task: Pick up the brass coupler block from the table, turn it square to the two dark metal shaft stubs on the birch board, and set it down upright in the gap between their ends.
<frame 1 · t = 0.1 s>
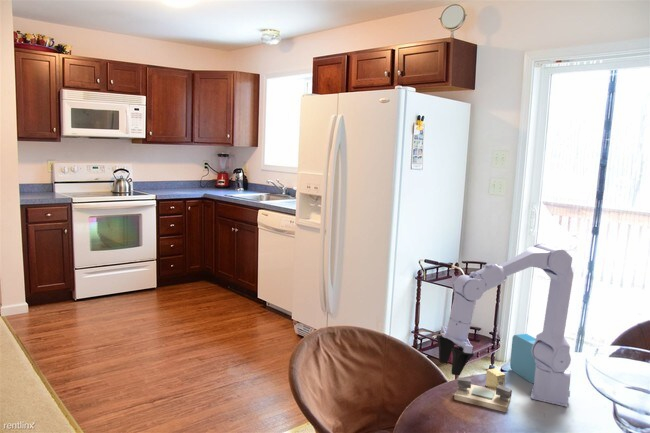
hand: (449, 368, 137), 11 cm above the table, tool pointing down, fingers open, 7 cm apart
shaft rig: (482, 398, 143), on the table
light blue flat block: (527, 376, 159), on the table
coupler: (494, 388, 150), on the table
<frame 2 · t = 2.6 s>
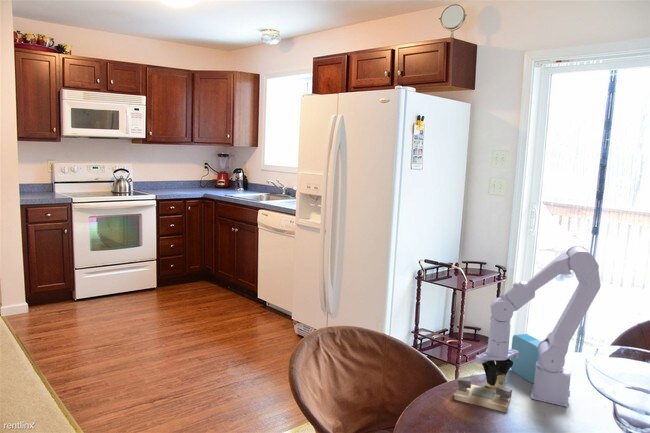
hand: (495, 383, 150), 1 cm above the table, tool pointing down, fingers closed on coupler, 3 cm apart
coupler: (494, 387, 150), on the table, touching gripper
everything else where it was.
when the fingers open (5 cm above the table, at t = 5.5 s): coupler stays where it is, resting on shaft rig.
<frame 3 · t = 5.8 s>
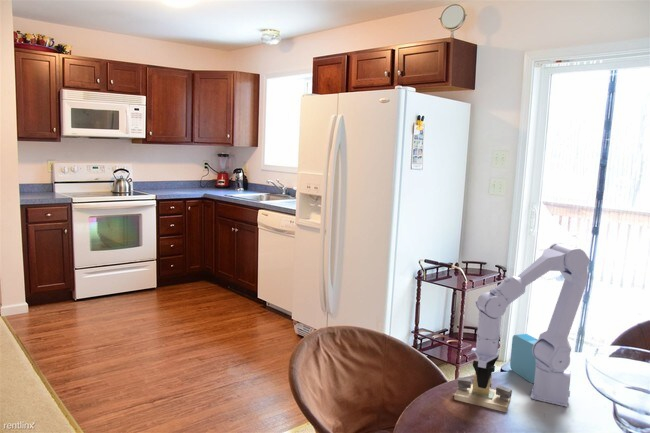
hand: (483, 383, 142), 5 cm above the table, tool pointing down, fingers open, 6 cm apart
coupler: (481, 392, 143), point 2 cm above the table, touching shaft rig
everything else where it was.
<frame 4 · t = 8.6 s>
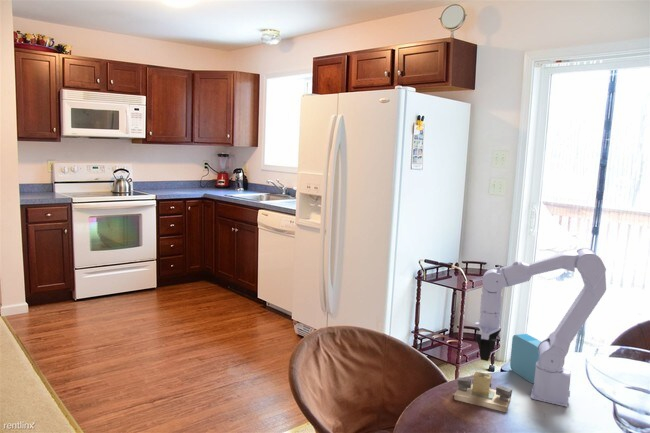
hand: (486, 355, 150), 9 cm above the table, tool pointing down, fingers open, 7 cm apart
nothing on the table moved.
at the end: coupler 0.5 cm off-centre on the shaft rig, point 1.9 cm above the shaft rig's base; coupler tilted 0°; the gripper is holding nothing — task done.
